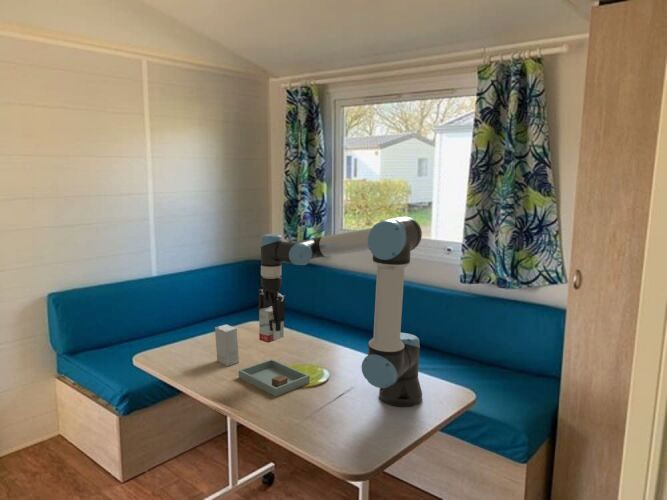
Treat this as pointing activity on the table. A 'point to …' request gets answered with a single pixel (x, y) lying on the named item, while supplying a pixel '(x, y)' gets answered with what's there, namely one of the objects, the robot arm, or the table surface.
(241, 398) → the table surface
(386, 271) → the robot arm
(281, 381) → the walnut block
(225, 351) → the skincare box
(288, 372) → the tray
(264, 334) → the ink box
